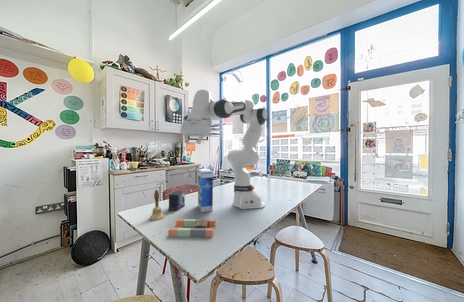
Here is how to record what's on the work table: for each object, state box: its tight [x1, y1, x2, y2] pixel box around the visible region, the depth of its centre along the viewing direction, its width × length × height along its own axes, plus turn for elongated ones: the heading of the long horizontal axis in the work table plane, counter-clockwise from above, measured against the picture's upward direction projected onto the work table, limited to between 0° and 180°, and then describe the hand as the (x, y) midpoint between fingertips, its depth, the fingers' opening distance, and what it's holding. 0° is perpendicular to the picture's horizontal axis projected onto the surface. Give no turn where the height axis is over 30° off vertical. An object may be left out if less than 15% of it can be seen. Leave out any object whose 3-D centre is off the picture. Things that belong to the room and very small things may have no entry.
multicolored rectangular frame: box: [167, 218, 217, 238], centre depth 84 cm, size 20×12×3 cm, turn 88°
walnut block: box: [194, 220, 209, 228], centre depth 84 cm, size 5×6×4 cm
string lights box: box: [197, 168, 214, 213], centre depth 115 cm, size 13×8×26 cm, turn 21°
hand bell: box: [148, 189, 166, 222], centre depth 100 cm, size 8×8×16 cm
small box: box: [168, 190, 186, 212], centre depth 115 cm, size 11×6×10 cm, turn 168°
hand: (192, 143), depth 91 cm, fingers open, 8 cm apart
